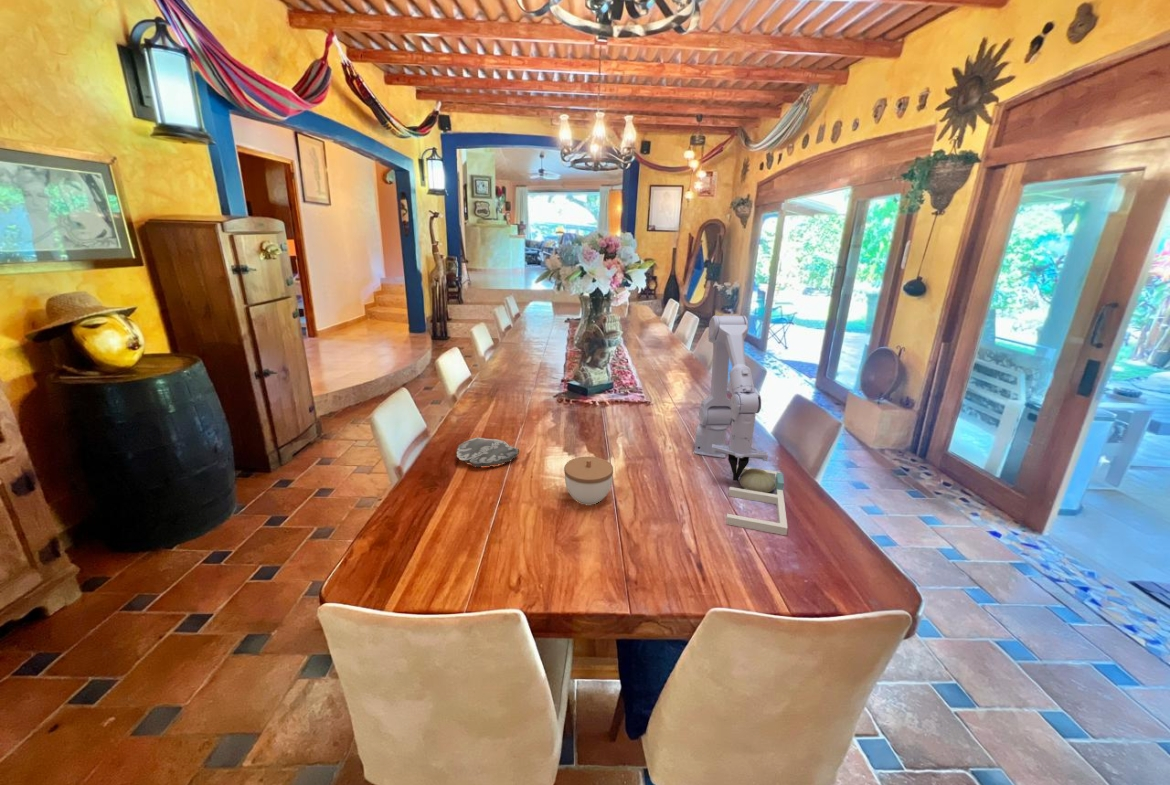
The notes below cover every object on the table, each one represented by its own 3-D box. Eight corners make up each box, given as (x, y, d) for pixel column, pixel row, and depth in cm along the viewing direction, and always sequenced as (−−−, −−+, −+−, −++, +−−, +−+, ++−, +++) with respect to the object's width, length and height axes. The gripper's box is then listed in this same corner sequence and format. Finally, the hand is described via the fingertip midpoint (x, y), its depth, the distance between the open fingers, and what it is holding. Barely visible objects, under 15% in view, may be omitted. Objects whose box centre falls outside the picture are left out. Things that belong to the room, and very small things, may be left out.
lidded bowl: (577, 516, 115) (577, 476, 111) (556, 492, 125) (556, 455, 122) (621, 503, 120) (622, 465, 117) (597, 481, 131) (598, 446, 127)
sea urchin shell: (773, 474, 132) (777, 465, 126) (771, 501, 129) (776, 494, 122) (739, 469, 135) (742, 460, 128) (737, 496, 132) (739, 488, 125)
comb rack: (726, 524, 112) (727, 509, 111) (730, 470, 138) (732, 458, 137) (786, 535, 108) (788, 520, 107) (779, 478, 134) (781, 465, 133)
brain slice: (441, 463, 141) (441, 454, 140) (478, 442, 155) (478, 434, 155) (493, 478, 133) (493, 469, 132) (527, 455, 147) (527, 446, 146)
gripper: (712, 436, 125) (707, 481, 129) (770, 444, 120) (763, 490, 125) (714, 426, 131) (709, 470, 135) (769, 434, 127) (763, 478, 131)
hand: (735, 479), depth 130 cm, fingers closed
